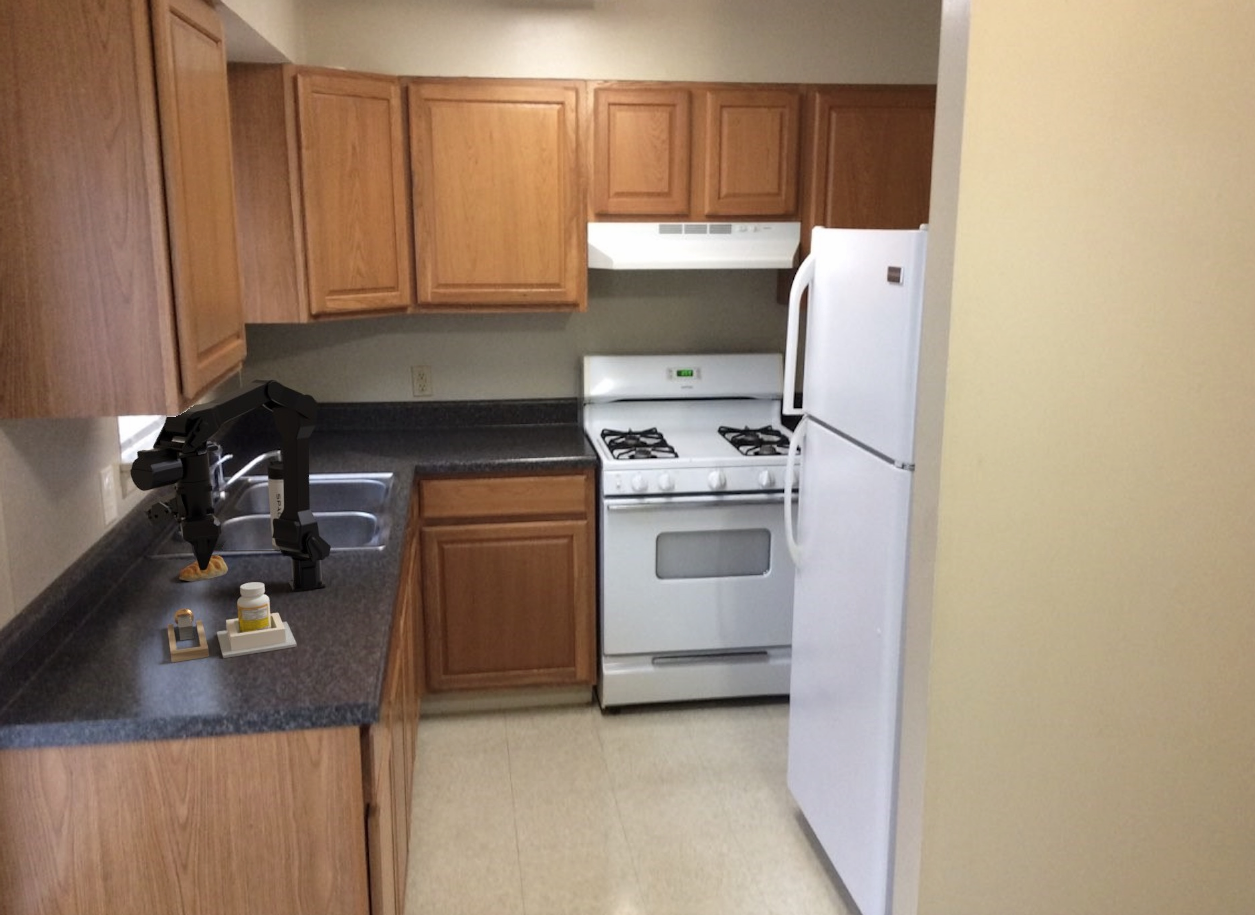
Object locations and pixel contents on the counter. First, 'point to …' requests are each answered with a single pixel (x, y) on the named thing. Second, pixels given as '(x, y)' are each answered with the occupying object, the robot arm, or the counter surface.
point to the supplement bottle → (253, 608)
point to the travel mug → (275, 492)
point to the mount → (189, 652)
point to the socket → (255, 638)
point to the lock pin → (184, 623)
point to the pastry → (213, 570)
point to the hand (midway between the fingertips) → (200, 562)
